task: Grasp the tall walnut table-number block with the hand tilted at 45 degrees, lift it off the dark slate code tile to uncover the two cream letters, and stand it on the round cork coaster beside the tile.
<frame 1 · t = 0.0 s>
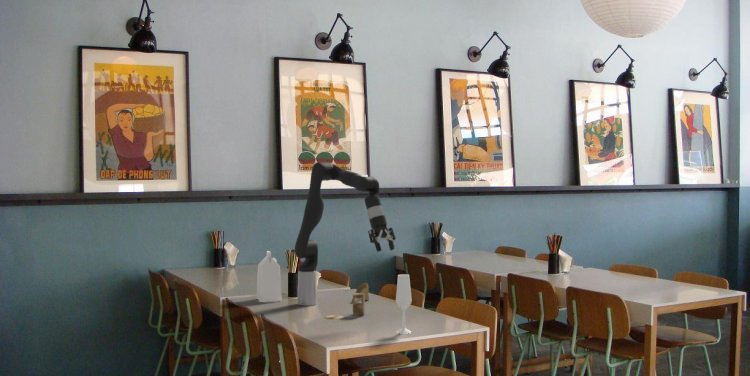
hand: (385, 250, 334), 31 cm above the table, tool tilted 20°, fingers open, 8 cm apart
milk: (269, 300, 388), on the table
code tile: (358, 315, 342), on the table
rock: (360, 301, 384), on the table
coaster: (333, 318, 337), on the table
walnut block: (358, 304, 342), on the code tile
champagne flute: (403, 332, 305), on the table
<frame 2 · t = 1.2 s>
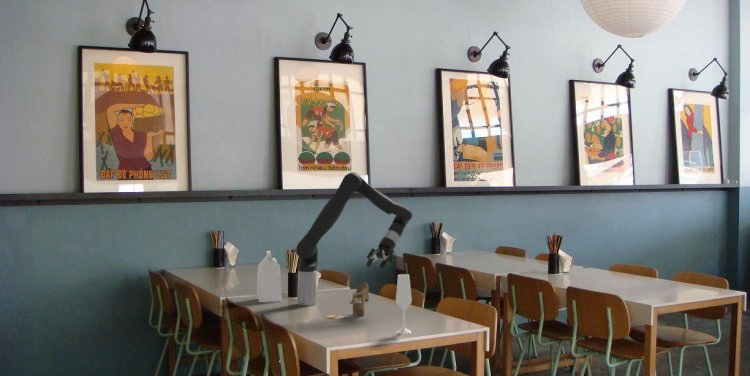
hand: (374, 267, 350), 22 cm above the table, tool tilted 45°, fingers open, 8 cm apart
nothing on the table moved.
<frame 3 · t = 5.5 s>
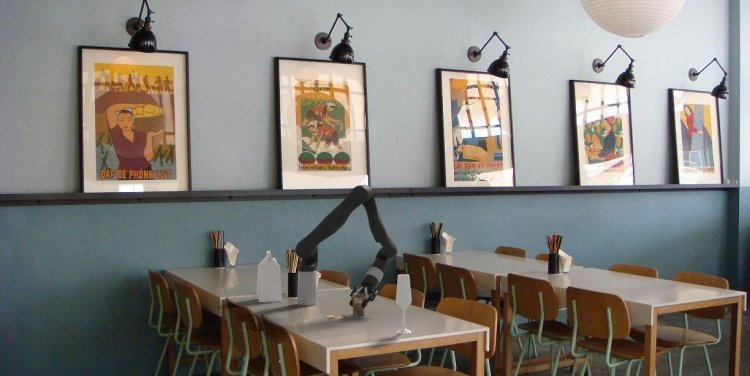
hand: (356, 306, 340), 5 cm above the table, tool tilted 45°, fingers closed on walnut block, 7 cm apart
walnut block: (358, 304, 342), on the code tile, touching gripper
everything else where it was.
when the fingers open (6 cm above the table, at t = 11.2 s): walnut block drops 1 cm, resting on coaster.
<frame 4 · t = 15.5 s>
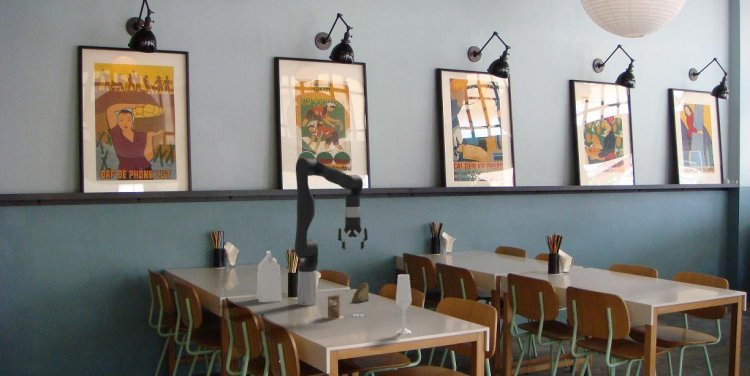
hand: (353, 249, 354), 30 cm above the table, tool pointing down, fingers open, 8 cm apart
walnut block: (334, 306, 337), on the coaster
everything else where it was.
at the end: walnut block inside the target area on the coaster (0.2 cm from its centre), point 5.5 cm above the coaster's base; walnut block tilted 0°; the gripper is holding nothing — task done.
